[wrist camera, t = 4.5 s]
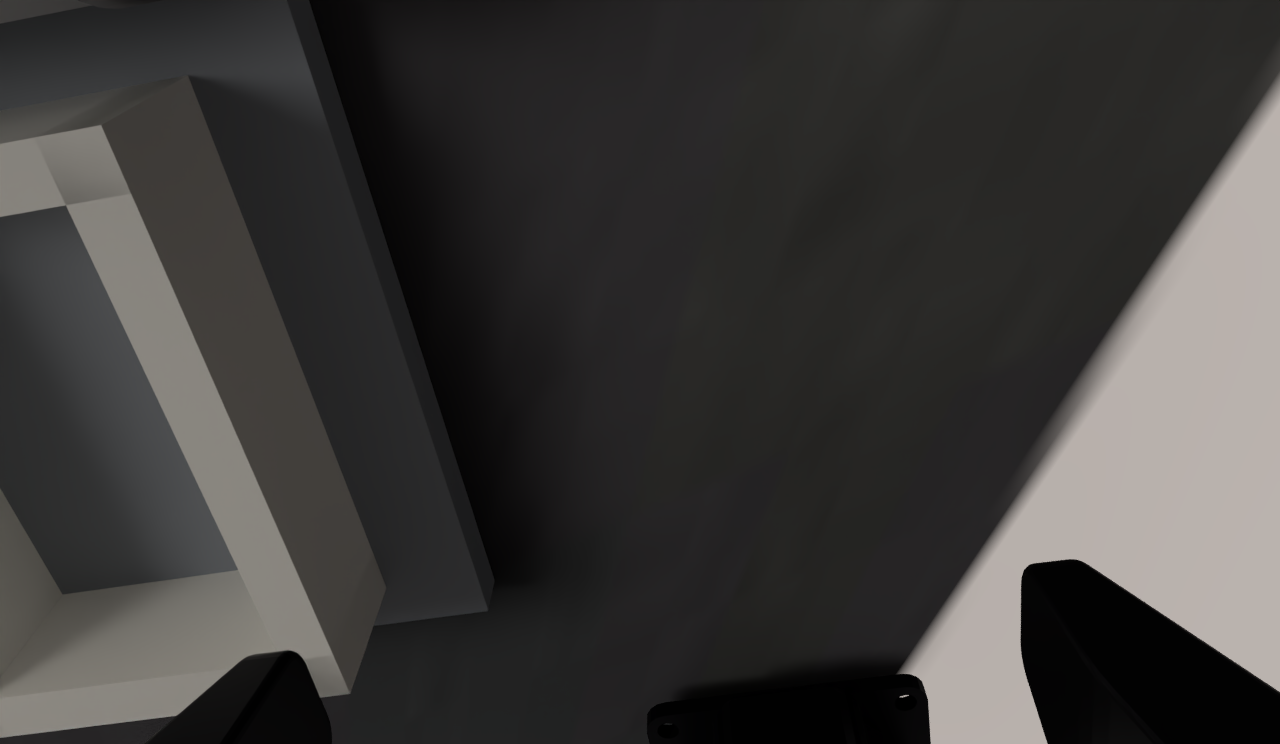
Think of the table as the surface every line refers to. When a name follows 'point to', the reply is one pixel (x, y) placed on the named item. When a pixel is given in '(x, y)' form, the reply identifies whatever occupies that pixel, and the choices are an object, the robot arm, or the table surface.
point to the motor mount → (201, 369)
